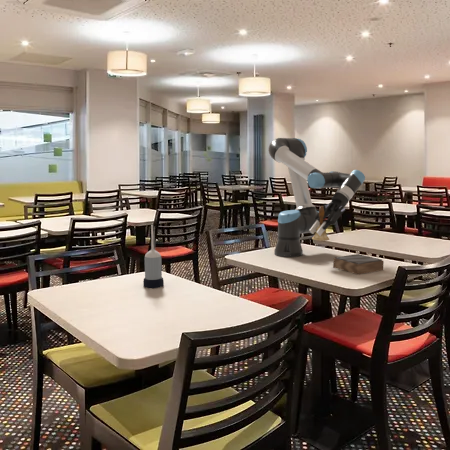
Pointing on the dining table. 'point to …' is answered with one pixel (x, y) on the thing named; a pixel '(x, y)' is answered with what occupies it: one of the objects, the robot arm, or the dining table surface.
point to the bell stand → (358, 263)
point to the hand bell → (324, 235)
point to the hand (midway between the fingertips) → (314, 233)
